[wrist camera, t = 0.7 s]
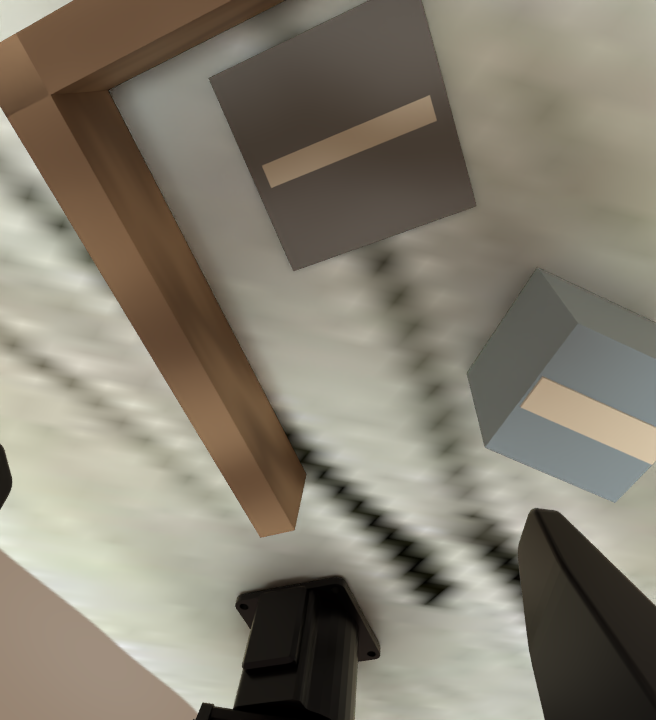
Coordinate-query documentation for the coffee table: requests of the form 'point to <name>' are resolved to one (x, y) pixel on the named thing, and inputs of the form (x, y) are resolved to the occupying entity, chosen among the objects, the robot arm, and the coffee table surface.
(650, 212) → the coffee table surface
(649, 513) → the coffee table surface
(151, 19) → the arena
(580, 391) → the cube
